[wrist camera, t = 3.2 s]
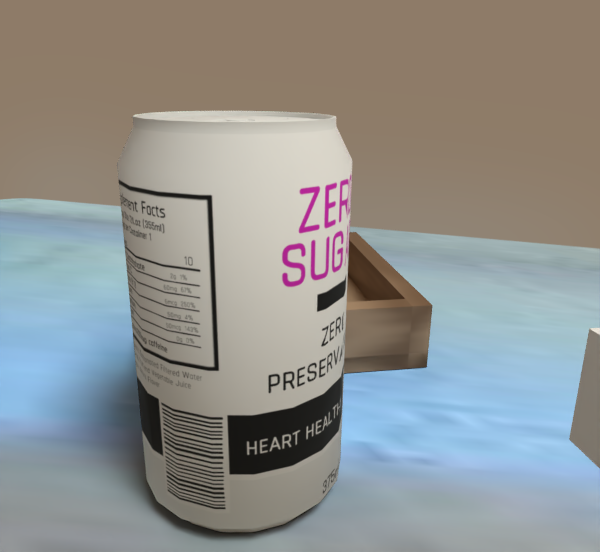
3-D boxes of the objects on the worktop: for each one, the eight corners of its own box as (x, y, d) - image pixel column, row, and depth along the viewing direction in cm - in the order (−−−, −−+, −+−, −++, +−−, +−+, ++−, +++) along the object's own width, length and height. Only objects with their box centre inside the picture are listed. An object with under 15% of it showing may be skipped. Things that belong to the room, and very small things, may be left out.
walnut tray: (153, 387, 31) (147, 321, 30) (168, 284, 47) (165, 238, 46) (426, 367, 34) (432, 305, 33) (354, 276, 50) (356, 232, 48)
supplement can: (169, 419, 28) (146, 109, 23) (333, 420, 28) (344, 111, 24) (123, 544, 21) (74, 121, 16) (348, 545, 21) (367, 124, 16)
